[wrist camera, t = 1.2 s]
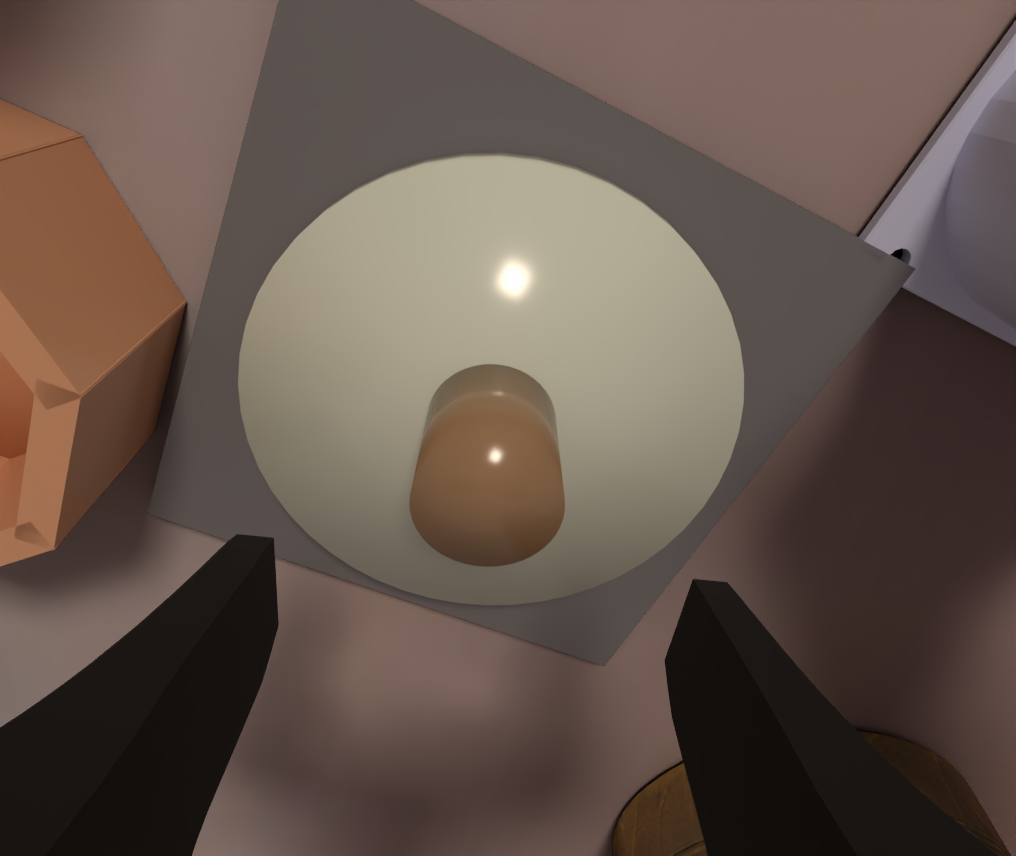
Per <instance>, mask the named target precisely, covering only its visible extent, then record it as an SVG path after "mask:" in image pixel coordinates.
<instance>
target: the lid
mask: <svg viewBox="0 0 1016 856" xmlns="http://www.w3.org/2000/svg"><path fill="white" fill-rule="evenodd" d="M238 390H239V400H240V410H241V416H242V420H243V424H244V428H245V432H246V436H247V440H248V443H249V445H250V448H251V450H252V453H253V455H254V458H255V460H256V463H257V465H258V468H259V469H260V471H261V473H262V475H263V476H264V478H265V480H266V482H267V484H268V485H269V487H270V489H271V491H272V492H273V494H274V495H275V496H276V498H277V499H278V500H279V502H280V503H281V504H282V506H283V507H284V508H285V510H286V511H287V512H288V514H289V515H290V516H291V517H292V518H293V519H294V520H295V521H296V522H297V523H298V524H299V525H300V526H301V527H302V528H303V529H304V531H305V532H306V533H307V534H308V535H310V536H311V537H312V538H313V539H314V540H316V541H317V542H318V543H319V544H320V545H322V546H323V547H324V548H325V549H326V550H328V551H329V552H330V553H332V554H333V555H335V556H336V557H338V558H339V559H341V560H342V561H344V562H345V563H347V564H348V565H350V566H351V567H353V568H355V569H357V570H358V571H360V572H362V573H364V574H366V575H368V576H370V577H372V578H374V579H376V580H378V581H380V582H383V583H385V584H388V585H391V586H393V587H396V588H398V589H401V590H403V591H407V592H410V593H414V594H417V595H421V596H424V597H428V598H432V599H438V600H443V601H449V602H454V603H462V604H475V605H517V604H526V603H535V602H542V601H547V600H552V599H556V598H561V597H566V596H569V595H572V594H576V593H579V592H582V591H585V590H588V589H591V588H594V587H596V586H599V585H601V584H603V583H606V582H608V581H610V580H612V579H615V578H617V577H619V576H621V575H623V574H624V573H626V572H628V571H630V570H631V569H633V568H635V567H637V566H639V565H640V564H642V563H643V562H645V561H646V560H648V559H649V558H650V557H652V556H653V555H655V554H656V553H657V552H659V551H660V550H661V549H663V548H664V547H665V546H666V545H668V544H669V543H670V542H671V541H672V540H673V539H674V538H675V537H676V536H677V535H678V534H680V533H681V532H682V531H683V530H684V529H685V528H686V527H687V526H688V524H689V523H690V522H691V521H692V520H693V519H694V517H695V516H696V515H697V514H698V513H699V512H700V510H701V509H702V508H703V507H704V505H705V504H706V502H707V501H708V499H709V498H710V496H711V494H712V493H713V491H714V490H715V488H716V487H717V485H718V484H719V482H720V479H721V477H722V475H723V473H724V471H725V469H726V467H727V465H728V463H729V461H730V458H731V455H732V452H733V449H734V446H735V443H736V440H737V437H738V433H739V429H740V423H741V417H742V411H743V405H744V369H743V362H742V354H741V347H740V342H739V339H738V335H737V332H736V329H735V325H734V322H733V318H732V315H731V313H730V310H729V308H728V306H727V304H726V302H725V300H724V298H723V296H722V294H721V291H720V289H719V287H718V285H717V283H716V282H715V280H714V279H713V278H712V276H711V275H710V273H709V272H708V270H707V269H706V267H705V266H704V264H703V263H702V261H701V260H700V258H699V257H698V256H697V254H696V253H695V252H694V250H693V249H692V248H691V247H690V245H689V244H688V243H687V242H686V241H685V240H684V239H683V237H682V236H681V235H680V234H679V233H678V232H677V231H676V230H675V229H674V228H673V227H672V226H671V224H670V223H669V222H668V221H667V220H666V219H665V218H664V217H662V216H661V215H660V214H659V213H657V212H656V211H655V210H654V209H652V208H651V207H650V206H649V205H647V204H646V203H645V202H644V201H643V200H641V199H640V198H639V197H637V196H635V195H634V194H632V193H630V192H629V191H627V190H625V189H624V188H622V187H620V186H619V185H617V184H615V183H614V182H612V181H610V180H608V179H606V178H604V177H601V176H599V175H597V174H594V173H592V172H589V171H587V170H585V169H582V168H580V167H577V166H575V165H571V164H567V163H564V162H560V161H556V160H552V159H548V158H544V157H540V156H534V155H526V154H517V153H508V152H468V153H458V154H452V155H446V156H440V157H434V158H428V159H424V160H421V161H418V162H415V163H412V164H408V165H405V166H402V167H399V168H396V169H393V170H390V171H388V172H386V173H384V174H382V175H380V176H378V177H376V178H374V179H372V180H369V181H367V182H365V183H363V184H361V185H359V186H358V187H356V188H355V189H353V190H352V191H350V192H349V193H347V194H346V195H344V196H343V197H342V198H340V199H339V200H337V201H336V202H334V203H333V204H331V205H330V206H329V207H328V208H327V209H326V210H325V211H323V212H322V213H321V214H320V215H319V216H318V217H317V218H316V219H315V220H314V221H313V222H311V223H310V224H309V225H308V226H307V227H306V228H305V229H304V230H303V231H302V232H301V233H300V234H299V235H298V236H297V237H296V238H295V239H294V241H293V242H292V243H291V244H290V246H289V247H288V248H287V249H286V251H285V252H284V253H283V254H282V256H281V257H280V258H279V259H278V261H277V262H276V263H275V264H274V266H273V267H272V269H271V271H270V273H269V274H268V276H267V278H266V280H265V281H264V283H263V285H262V287H261V288H260V290H259V292H258V294H257V296H256V298H255V301H254V304H253V306H252V309H251V312H250V314H249V317H248V319H247V322H246V325H245V330H244V335H243V340H242V344H241V349H240V354H239V373H238Z"/></svg>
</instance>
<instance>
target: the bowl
mask: <svg viewBox="0 0 1016 856" xmlns="http://www.w3.org/2000/svg"><path fill="white" fill-rule="evenodd" d="M186 304H187V302H186V301H185V299H184V298H183V296H182V294H181V293H180V291H179V290H178V288H177V287H176V285H175V283H174V282H173V280H172V279H171V277H170V275H169V274H168V272H167V271H166V269H165V267H164V266H163V264H162V263H161V261H160V259H159V258H158V256H157V255H156V253H155V251H154V250H153V248H152V247H151V245H150V243H149V242H148V240H147V239H146V237H145V235H144V234H143V232H142V231H141V229H140V227H139V226H138V224H137V223H136V221H135V219H134V218H133V216H132V215H131V213H130V211H129V210H128V208H127V207H126V205H125V203H124V202H123V200H122V199H121V197H120V195H119V194H118V192H117V191H116V189H115V187H114V186H113V184H112V183H111V181H110V179H109V178H108V176H107V175H106V173H105V171H104V170H103V168H102V167H101V165H100V163H99V162H98V160H97V159H96V157H95V155H94V154H93V152H92V151H91V149H90V147H89V146H88V144H87V143H86V141H85V139H84V138H83V135H81V134H78V133H76V132H74V131H71V130H69V129H67V128H65V127H62V126H60V125H58V124H55V123H53V122H51V121H49V120H46V119H44V118H42V117H40V116H37V115H35V114H33V113H30V112H28V111H26V110H24V109H21V108H19V107H17V106H15V105H12V104H10V103H8V102H5V101H3V100H1V99H0V566H3V565H7V564H10V563H13V562H16V561H19V560H22V559H25V558H29V557H32V556H35V555H38V554H41V553H44V552H48V551H51V550H54V549H55V548H56V547H57V546H58V545H59V544H60V543H61V541H62V540H63V539H64V538H65V537H66V535H67V534H68V533H69V532H70V531H71V530H72V528H73V527H74V526H75V525H76V524H77V523H78V521H79V520H80V519H81V518H82V517H83V515H84V514H85V513H86V512H87V511H88V510H89V508H90V507H91V506H92V505H93V504H94V503H95V501H96V500H97V499H98V498H99V497H100V495H101V494H102V493H103V492H104V491H105V490H106V488H107V487H108V486H109V485H110V484H111V482H112V481H113V480H114V479H115V478H116V477H117V475H118V474H119V473H120V472H121V471H122V470H123V468H124V467H125V466H126V465H127V464H128V462H129V461H130V460H131V459H132V458H133V457H134V455H135V454H136V453H137V452H138V451H139V450H140V448H141V447H142V446H143V445H144V444H145V442H146V441H147V440H148V439H149V438H150V437H151V435H152V434H153V433H154V432H155V431H156V430H155V428H156V424H157V420H158V415H159V411H160V407H161V403H162V399H163V395H164V391H165V387H166V383H167V379H168V375H169V371H170V367H171V362H172V358H173V354H174V350H175V346H176V342H177V338H178V334H179V330H180V326H181V322H182V318H183V314H184V309H185V305H186Z"/></svg>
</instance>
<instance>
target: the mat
mask: <svg viewBox="0 0 1016 856" xmlns="http://www.w3.org/2000/svg"><path fill="white" fill-rule="evenodd" d="M468 152H508V153H517V154H526V155H534V156H540V157H544V158H548V159H552V160H556V161H560V162H564V163H567V164H571V165H575V166H577V167H580V168H582V169H585V170H587V171H589V172H592V173H594V174H597V175H599V176H601V177H604V178H606V179H608V180H610V181H612V182H614V183H615V184H617V185H619V186H620V187H622V188H624V189H625V190H627V191H629V192H630V193H632V194H634V195H635V196H637V197H639V198H640V199H641V200H643V201H644V202H645V203H646V204H647V205H649V206H650V207H651V208H652V209H654V210H655V211H656V212H657V213H659V214H660V215H661V216H662V217H664V218H665V219H666V220H667V221H668V222H669V223H670V224H671V226H672V227H673V228H674V229H675V230H676V231H677V232H678V233H679V234H680V235H681V236H682V237H683V239H684V240H685V241H686V242H687V243H688V244H689V245H690V247H691V248H692V249H693V250H694V252H695V253H696V254H697V256H698V257H699V258H700V260H701V261H702V263H703V264H704V266H705V267H706V269H707V270H708V272H709V273H710V275H711V276H712V278H713V279H714V280H715V282H716V283H717V285H718V287H719V289H720V291H721V294H722V296H723V298H724V300H725V302H726V304H727V306H728V308H729V310H730V313H731V315H732V318H733V322H734V325H735V329H736V332H737V335H738V339H739V342H740V347H741V354H742V362H743V369H744V405H743V411H742V417H741V423H740V429H739V433H738V437H737V440H736V443H735V446H734V449H733V452H732V455H731V458H730V461H729V463H728V465H727V467H726V469H725V471H724V473H723V475H722V477H721V479H720V482H719V484H718V485H717V487H716V488H715V490H714V491H713V493H712V494H711V496H710V498H709V499H708V501H707V502H706V504H705V505H704V507H703V508H702V509H701V510H700V512H699V513H698V514H697V515H696V516H695V517H694V519H693V520H692V521H691V522H690V523H689V524H688V526H687V527H686V528H685V529H684V530H683V531H682V532H681V533H680V534H678V535H677V536H676V537H675V538H674V539H673V540H672V541H671V542H670V543H669V544H668V545H666V546H665V547H664V548H663V549H661V550H660V551H659V552H657V553H656V554H655V555H653V556H652V557H650V558H649V559H648V560H646V561H645V562H643V563H642V564H640V565H639V566H637V567H635V568H633V569H631V570H630V571H628V572H626V573H624V574H623V575H621V576H619V577H617V578H615V579H612V580H610V581H608V582H606V583H603V584H601V585H599V586H596V587H594V588H591V589H588V590H585V591H582V592H579V593H576V594H572V595H569V596H566V597H561V598H556V599H552V600H547V601H542V602H535V603H526V604H517V605H475V604H462V603H454V602H449V601H443V600H438V599H432V598H428V597H424V596H421V595H417V594H414V593H410V592H407V591H403V590H401V589H398V588H396V587H393V586H391V585H388V584H385V583H383V582H380V581H378V580H376V579H374V578H372V577H370V576H368V575H366V574H364V573H362V572H360V571H358V570H357V569H355V568H353V567H351V566H350V565H348V564H347V563H345V562H344V561H342V560H341V559H339V558H338V557H336V556H335V555H333V554H332V553H330V552H329V551H328V550H326V549H325V548H324V547H323V546H322V545H320V544H319V543H318V542H317V541H316V540H314V539H313V538H312V537H311V536H310V535H308V534H307V533H306V532H305V531H304V529H303V528H302V527H301V526H300V525H299V524H298V523H297V522H296V521H295V520H294V519H293V518H292V517H291V516H290V515H289V514H288V512H287V511H286V510H285V508H284V507H283V506H282V504H281V503H280V502H279V500H278V499H277V498H276V496H275V495H274V494H273V492H272V491H271V489H270V487H269V485H268V484H267V482H266V480H265V478H264V476H263V475H262V473H261V471H260V469H259V468H258V465H257V463H256V460H255V458H254V455H253V453H252V450H251V448H250V445H249V443H248V440H247V436H246V432H245V428H244V424H243V420H242V416H241V410H240V400H239V390H238V373H239V354H240V349H241V344H242V340H243V335H244V330H245V325H246V322H247V319H248V317H249V314H250V312H251V309H252V306H253V304H254V301H255V298H256V296H257V294H258V292H259V290H260V288H261V287H262V285H263V283H264V281H265V280H266V278H267V276H268V274H269V273H270V271H271V269H272V267H273V266H274V264H275V263H276V262H277V261H278V259H279V258H280V257H281V256H282V254H283V253H284V252H285V251H286V249H287V248H288V247H289V246H290V244H291V243H292V242H293V241H294V239H295V238H296V237H297V236H298V235H299V234H300V233H301V232H302V231H303V230H304V229H305V228H306V227H307V226H308V225H309V224H310V223H311V222H313V221H314V220H315V219H316V218H317V217H318V216H319V215H320V214H321V213H322V212H323V211H325V210H326V209H327V208H328V207H329V206H330V205H331V204H333V203H334V202H336V201H337V200H339V199H340V198H342V197H343V196H344V195H346V194H347V193H349V192H350V191H352V190H353V189H355V188H356V187H358V186H359V185H361V184H363V183H365V182H367V181H369V180H372V179H374V178H376V177H378V176H380V175H382V174H384V173H386V172H388V171H390V170H393V169H396V168H399V167H402V166H405V165H408V164H412V163H415V162H418V161H421V160H424V159H428V158H434V157H440V156H446V155H452V154H458V153H468ZM870 248H871V249H870ZM867 250H868V251H867ZM865 251H866V252H865ZM869 251H870V252H869ZM871 251H872V252H871ZM873 251H874V252H873ZM868 252H869V253H868ZM871 253H872V254H871ZM874 253H875V254H874ZM878 253H879V254H878ZM873 254H874V255H873ZM877 254H878V256H877ZM875 255H876V256H875ZM879 255H880V257H879ZM882 256H883V257H882ZM876 258H878V259H876ZM881 258H882V259H881ZM875 259H876V260H875ZM876 262H877V263H876ZM915 269H916V268H914V267H912V266H910V265H908V264H907V263H905V262H903V261H902V260H900V259H899V258H897V257H895V256H893V255H892V254H891V255H889V254H887V253H885V252H884V251H882V250H880V249H878V248H876V247H874V246H872V245H870V244H868V243H867V242H865V241H863V240H862V239H860V238H859V237H858V236H856V235H854V234H852V233H850V232H848V231H846V230H844V229H843V228H841V227H839V226H837V225H835V224H833V223H831V222H829V221H828V220H826V219H824V218H822V217H820V216H818V215H816V214H814V213H812V212H811V211H809V210H807V209H805V208H803V207H801V206H799V205H797V204H795V203H794V202H792V201H790V200H788V199H786V198H784V197H782V196H780V195H779V194H777V193H775V192H773V191H771V190H769V189H767V188H765V187H763V186H762V185H760V184H758V183H756V182H754V181H752V180H750V179H748V178H747V177H745V176H743V175H741V174H739V173H737V172H735V171H733V170H731V169H730V168H728V167H726V166H724V165H722V164H720V163H718V162H716V161H715V160H713V159H711V158H709V157H707V156H705V155H703V154H701V153H699V152H698V151H696V150H694V149H692V148H690V147H688V146H686V145H684V144H683V143H681V142H679V141H677V140H675V139H673V138H671V137H669V136H667V135H666V134H664V133H662V132H660V131H658V130H656V129H654V128H652V127H650V126H649V125H647V124H645V123H643V122H641V121H639V120H637V119H635V118H634V117H632V116H630V115H628V114H626V113H624V112H622V111H620V110H618V109H617V108H615V107H613V106H611V105H609V104H607V103H605V102H603V101H602V100H600V99H598V98H596V97H594V96H592V95H590V94H588V93H586V92H585V91H583V90H581V89H579V88H577V87H575V86H573V85H571V84H570V83H568V82H566V81H564V80H562V79H560V78H558V77H556V76H554V75H553V74H551V73H549V72H547V71H545V70H543V69H541V68H539V67H538V66H536V65H534V64H532V63H530V62H528V61H526V60H524V59H522V58H521V57H519V56H517V55H515V54H513V53H511V52H509V51H507V50H505V49H504V48H502V47H500V46H498V45H496V44H494V43H492V42H490V41H489V40H487V39H485V38H483V37H481V36H479V35H477V34H475V33H473V32H472V31H470V30H468V29H466V28H464V27H462V26H460V25H458V24H457V23H455V22H453V21H451V20H449V19H447V18H445V17H443V16H441V15H440V14H438V13H436V12H434V11H432V10H430V9H428V8H426V7H425V6H423V5H421V4H419V3H417V2H415V1H413V0H279V2H278V6H277V10H276V14H275V18H274V22H273V26H272V29H271V33H270V37H269V41H268V45H267V49H266V53H265V57H264V61H263V64H262V68H261V72H260V76H259V80H258V84H257V88H256V92H255V96H254V100H253V103H252V107H251V111H250V115H249V119H248V123H247V127H246V131H245V135H244V138H243V142H242V146H241V150H240V154H239V158H238V162H237V166H236V170H235V173H234V177H233V181H232V185H231V189H230V193H229V197H228V201H227V205H226V208H225V212H224V216H223V220H222V224H221V228H220V232H219V236H218V240H217V244H216V247H215V251H214V255H213V259H212V263H211V267H210V271H209V275H208V279H207V282H206V286H205V290H204V294H203V298H202V302H201V306H200V310H199V314H198V317H197V321H196V325H195V329H194V333H193V337H192V341H191V345H190V349H189V352H188V356H187V360H186V364H185V368H184V372H183V376H182V380H181V384H180V387H179V391H178V395H177V399H176V403H175V407H174V411H173V415H172V419H171V423H170V426H169V430H168V434H167V438H166V442H165V446H164V450H163V454H162V458H161V461H160V465H159V469H158V473H157V477H156V481H155V485H154V489H153V493H152V496H151V500H150V504H149V508H148V512H147V514H150V515H153V516H156V517H159V518H162V519H165V520H168V521H171V522H174V523H177V524H180V525H183V526H186V527H189V528H192V529H195V530H198V531H201V532H204V533H207V534H210V535H213V536H216V537H219V538H222V539H225V540H228V541H229V540H230V539H231V538H232V537H234V536H235V535H236V534H242V535H252V536H262V537H272V538H274V549H275V556H276V557H279V558H282V559H284V560H287V561H290V562H293V563H296V564H299V565H302V566H305V567H308V568H311V569H314V570H317V571H320V572H323V573H326V574H329V575H332V576H335V577H338V578H341V579H344V580H347V581H350V582H353V583H356V584H359V585H362V586H365V587H368V588H371V589H374V590H377V591H380V592H383V593H386V594H389V595H392V596H395V597H398V598H401V599H404V600H407V601H410V602H413V603H416V604H419V605H422V606H425V607H428V608H431V609H434V610H437V611H440V612H443V613H446V614H449V615H452V616H455V617H458V618H461V619H464V620H467V621H470V622H473V623H476V624H479V625H482V626H485V627H488V628H491V629H494V630H497V631H500V632H503V633H506V634H509V635H512V636H515V637H518V638H521V639H524V640H527V641H530V642H533V643H536V644H539V645H542V646H545V647H548V648H551V649H554V650H557V651H560V652H563V653H566V654H569V655H572V656H575V657H578V658H580V659H583V660H586V661H589V662H592V663H595V664H598V665H601V666H605V665H606V663H607V662H608V661H609V660H610V658H611V657H612V656H613V655H614V653H615V652H616V651H617V649H618V648H619V647H620V646H621V644H622V643H623V642H624V640H625V639H626V638H627V637H628V635H629V634H630V633H631V632H632V630H633V629H634V628H635V626H636V625H637V624H638V623H639V621H640V620H641V619H642V618H643V616H644V615H645V614H646V612H647V611H648V610H649V609H650V607H651V606H652V605H653V603H654V602H655V601H656V600H657V598H658V597H659V596H660V595H661V593H662V592H663V591H664V589H665V588H666V587H667V586H668V584H669V583H670V582H671V581H672V579H673V578H674V577H675V575H676V574H677V573H678V572H679V570H680V569H681V568H682V566H683V565H684V564H685V563H686V561H687V560H688V559H689V558H690V556H691V555H692V554H693V552H694V551H695V550H696V549H697V547H698V546H699V545H700V544H701V542H702V541H703V540H704V538H705V537H706V536H707V535H708V533H709V532H710V531H711V530H712V528H713V527H714V526H715V524H716V523H717V522H718V521H719V519H720V518H721V517H722V515H723V514H724V513H725V512H726V510H727V509H728V508H729V507H730V505H731V504H732V503H733V501H734V500H735V499H736V498H737V496H738V495H739V494H740V493H741V491H742V490H743V489H744V487H745V486H746V485H747V484H748V482H749V481H750V480H751V478H752V477H753V476H754V475H755V473H756V472H757V471H758V470H759V468H760V467H761V466H762V464H763V463H764V462H765V461H766V459H767V458H768V457H769V456H770V454H771V453H772V452H773V450H774V449H775V448H776V447H777V445H778V444H779V443H780V441H781V440H782V439H783V438H784V436H785V435H786V434H787V433H788V431H789V430H790V429H791V427H792V426H793V425H794V424H795V422H796V421H797V420H798V419H799V417H800V416H801V415H802V413H803V412H804V411H805V410H806V408H807V407H808V406H809V404H810V403H811V402H812V401H813V399H814V398H815V397H816V396H817V394H818V393H819V392H820V390H821V389H822V388H823V387H824V385H825V384H826V383H827V382H828V380H829V379H830V378H831V376H832V375H833V374H834V373H835V371H836V370H837V369H838V367H839V366H840V365H841V364H842V362H843V361H844V360H845V359H846V357H847V356H848V355H849V353H850V352H851V351H852V350H853V348H854V347H855V346H856V345H857V343H858V342H859V341H860V339H861V338H862V337H863V336H864V334H865V333H866V332H867V330H868V329H869V328H870V327H871V325H872V324H873V323H874V322H875V320H876V319H877V318H878V316H879V315H880V314H881V313H882V311H883V310H884V309H885V308H886V306H887V305H888V304H889V302H890V301H891V300H892V299H893V297H894V296H895V295H896V293H897V292H898V291H899V290H900V288H901V287H902V286H903V285H904V283H905V282H906V281H907V279H908V278H909V277H910V276H911V274H912V273H913V272H914V271H915Z"/></svg>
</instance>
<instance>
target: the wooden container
mask: <svg viewBox="0 0 1016 856" xmlns="http://www.w3.org/2000/svg"><path fill="white" fill-rule="evenodd" d="M857 732H858V733H859V734H860V735H861V736H862V737H863V738H864V739H865V740H866V741H867V742H868V743H869V744H870V745H871V746H872V747H873V748H874V749H875V750H876V751H877V752H878V753H879V754H880V755H882V756H883V757H884V758H885V759H886V760H887V761H888V762H889V763H890V764H891V765H892V766H893V767H894V768H896V769H897V770H898V771H899V772H900V773H901V774H902V775H903V776H904V777H905V778H906V779H907V780H909V781H910V782H911V783H912V784H913V785H914V786H915V787H916V788H917V789H918V790H919V791H921V792H922V793H923V794H924V795H925V796H926V797H927V798H929V799H930V800H931V801H932V802H933V803H934V804H935V805H937V806H938V807H939V808H940V809H941V810H942V811H944V812H945V813H946V814H947V815H948V816H950V817H951V818H952V819H953V820H955V821H956V822H957V823H958V824H959V825H961V826H962V827H963V828H964V829H966V830H967V831H968V832H969V833H970V834H972V835H973V836H974V837H975V838H976V839H978V840H979V841H980V842H981V843H983V844H984V845H985V846H986V847H987V848H989V849H990V850H991V851H993V852H994V853H995V854H996V855H998V856H1011V855H1010V853H1009V851H1008V850H1007V848H1006V846H1005V845H1004V843H1003V841H1002V840H1001V838H1000V836H999V835H998V833H997V831H996V830H995V828H994V826H993V824H992V823H991V821H990V819H989V818H988V816H987V814H986V813H985V811H984V809H983V808H982V806H981V804H980V803H979V801H978V799H977V798H976V796H975V795H974V793H973V791H972V790H971V788H970V786H969V785H968V783H967V782H966V780H965V779H964V778H963V777H962V775H961V774H960V773H959V772H958V771H957V770H956V769H955V768H954V767H953V766H952V765H951V764H949V763H948V762H947V761H946V760H945V759H943V758H941V757H940V756H938V755H936V754H935V753H934V752H932V751H930V750H928V749H925V748H923V747H920V746H918V745H915V744H913V743H911V742H908V741H904V740H901V739H898V738H894V737H891V736H887V735H883V734H877V733H870V732H863V731H857ZM612 856H708V855H707V851H706V846H705V842H704V839H703V835H702V831H701V827H700V823H699V820H698V816H697V812H696V808H695V804H694V801H693V797H692V793H691V789H690V785H689V781H688V778H687V774H686V770H685V766H684V763H682V764H680V765H678V766H676V767H675V768H673V769H671V770H670V771H668V772H667V773H665V774H663V775H662V776H660V777H659V778H658V779H656V780H655V781H653V782H652V783H651V784H650V785H648V786H647V787H646V788H645V789H644V790H642V791H641V792H640V793H639V794H638V795H637V796H636V797H635V798H634V799H633V800H632V801H631V802H630V804H629V805H628V806H627V807H626V809H625V810H624V811H623V813H622V814H621V816H620V818H619V820H618V823H617V825H616V828H615V831H614V835H613V840H612Z"/></svg>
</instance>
